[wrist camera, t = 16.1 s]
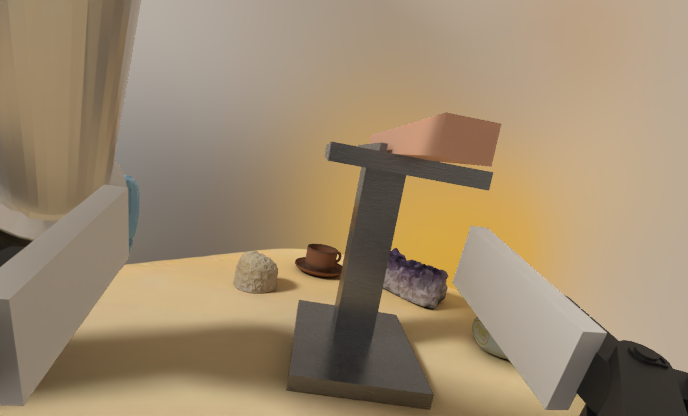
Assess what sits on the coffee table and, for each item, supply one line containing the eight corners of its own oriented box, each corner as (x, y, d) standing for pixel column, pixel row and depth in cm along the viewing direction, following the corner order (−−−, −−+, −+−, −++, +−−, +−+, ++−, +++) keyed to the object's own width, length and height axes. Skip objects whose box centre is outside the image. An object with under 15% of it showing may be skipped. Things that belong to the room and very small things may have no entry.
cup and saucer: (313, 261, 105) (317, 239, 104) (351, 276, 99) (356, 252, 98) (283, 268, 95) (288, 243, 94) (324, 284, 89) (329, 258, 88)
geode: (355, 281, 95) (365, 241, 95) (382, 282, 104) (392, 245, 104) (427, 311, 82) (439, 264, 82) (452, 310, 90) (463, 267, 90)
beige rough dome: (258, 295, 85) (243, 255, 86) (292, 283, 81) (276, 240, 82) (232, 307, 77) (216, 261, 78) (269, 293, 73) (251, 246, 74)
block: (491, 166, 28) (501, 123, 28) (436, 155, 28) (446, 112, 27) (390, 156, 67) (394, 139, 67) (367, 152, 67) (370, 134, 67)
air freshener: (465, 333, 75) (477, 283, 74) (507, 340, 76) (519, 291, 75) (488, 364, 65) (503, 306, 63) (537, 371, 65) (552, 314, 64)
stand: (434, 420, 47) (495, 163, 43) (284, 400, 46) (333, 132, 42) (392, 320, 75) (426, 158, 71) (297, 306, 73) (327, 139, 69)
